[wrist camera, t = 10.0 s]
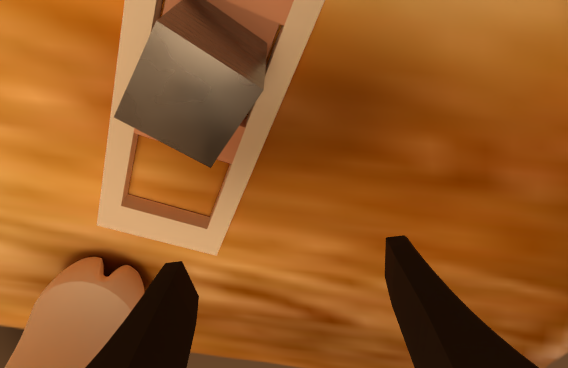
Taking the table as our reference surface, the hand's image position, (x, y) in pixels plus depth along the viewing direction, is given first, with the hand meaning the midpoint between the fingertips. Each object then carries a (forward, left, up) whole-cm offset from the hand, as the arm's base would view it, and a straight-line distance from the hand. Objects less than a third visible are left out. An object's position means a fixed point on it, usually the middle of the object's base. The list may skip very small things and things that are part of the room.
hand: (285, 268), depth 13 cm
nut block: (+5, -3, -10) cm, 11 cm away
